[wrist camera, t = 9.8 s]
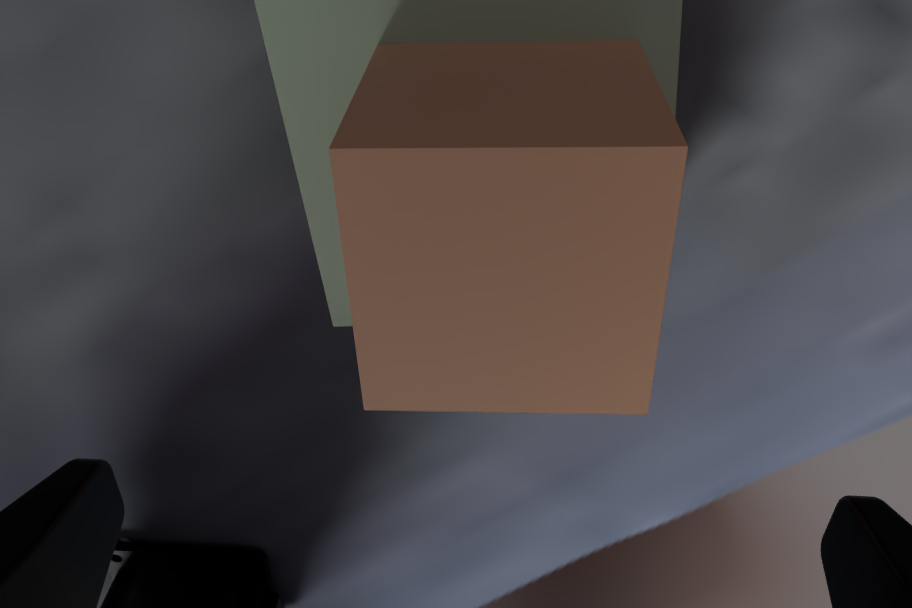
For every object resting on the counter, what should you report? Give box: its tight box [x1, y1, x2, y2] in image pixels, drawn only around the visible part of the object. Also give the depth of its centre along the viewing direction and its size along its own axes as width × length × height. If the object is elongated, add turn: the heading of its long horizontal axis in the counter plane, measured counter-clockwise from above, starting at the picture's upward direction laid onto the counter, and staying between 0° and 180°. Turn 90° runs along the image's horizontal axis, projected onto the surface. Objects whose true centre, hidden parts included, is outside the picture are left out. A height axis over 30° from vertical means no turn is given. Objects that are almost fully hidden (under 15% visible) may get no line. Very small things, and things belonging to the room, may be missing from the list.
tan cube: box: [329, 40, 688, 415], centre depth 14 cm, size 5×5×5 cm
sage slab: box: [254, 0, 683, 327], centre depth 17 cm, size 8×8×2 cm
